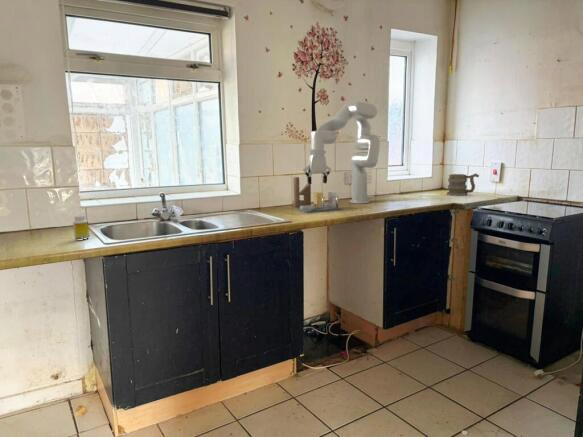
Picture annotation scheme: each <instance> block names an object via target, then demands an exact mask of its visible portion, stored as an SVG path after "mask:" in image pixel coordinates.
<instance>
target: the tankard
mask: <svg viewBox="0 0 583 437" xmlns="http://www.w3.org/2000/svg"><path fill="white" fill-rule="evenodd" d="M448 177H449V178H447V181H448V186H447V189H448V191H447V192H446V195H447V196H451V197H452V196H453V197H463V196H464V197H465V196H468V193H473V192H474V191H475V189H476V184H475V182H474V178H479V177H480V175H479V174H478V173H474V174H471V175H467V174H464V173H461V174H459V173H458V174H457V173H454V174H449V175H448ZM468 179H469V181H470V186H471V187H470V189H467V187H468V186H467V182H468Z"/></svg>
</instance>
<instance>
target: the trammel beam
mask: <svg viewBox="0 0 583 437" xmlns="http://www.w3.org/2000/svg"><path fill="white" fill-rule="evenodd" d="M327 193H328V195H327V196H328V197H327V198H328V199H327V200H328V201H327V202H328V203H324V207H334V206H336V207H339V197H340V196H339V195H336V194H337V193H336V192H334V191H328V192H327ZM299 208H300V209H313V208H316V205H314V204H311V205H305V206H300V207H299ZM320 208H322V207H320Z"/></svg>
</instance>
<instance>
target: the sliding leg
mask: <svg viewBox="0 0 583 437" xmlns="http://www.w3.org/2000/svg"><path fill="white" fill-rule="evenodd" d="M312 194H313V199H312V200H313V203H312V205H316V208H320V207H322V208H324V204H325V200H326V197H325V196H324V192H322V191H314V192H313V193H312Z"/></svg>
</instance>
